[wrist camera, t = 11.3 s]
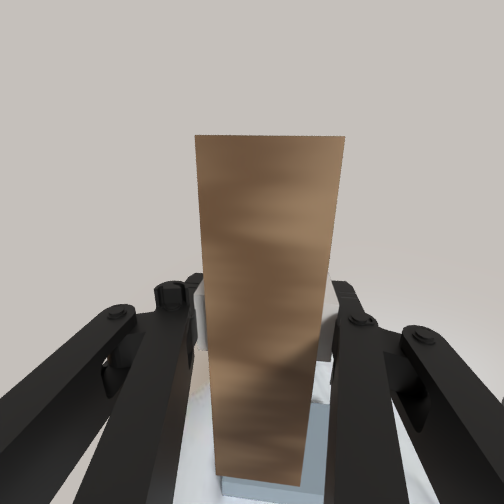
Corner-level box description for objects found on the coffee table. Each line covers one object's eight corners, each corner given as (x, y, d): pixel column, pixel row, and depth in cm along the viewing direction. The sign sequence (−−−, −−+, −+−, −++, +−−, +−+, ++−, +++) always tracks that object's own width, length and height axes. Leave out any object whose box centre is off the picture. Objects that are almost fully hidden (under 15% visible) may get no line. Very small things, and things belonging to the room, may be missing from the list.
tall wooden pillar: (296, 408, 16) (324, 139, 11) (299, 487, 12) (345, 136, 7) (231, 401, 17) (224, 138, 11) (215, 475, 13) (194, 135, 7)
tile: (347, 515, 21) (331, 419, 28) (351, 499, 20) (333, 404, 28) (222, 497, 22) (237, 409, 29) (221, 481, 21) (237, 394, 29)
